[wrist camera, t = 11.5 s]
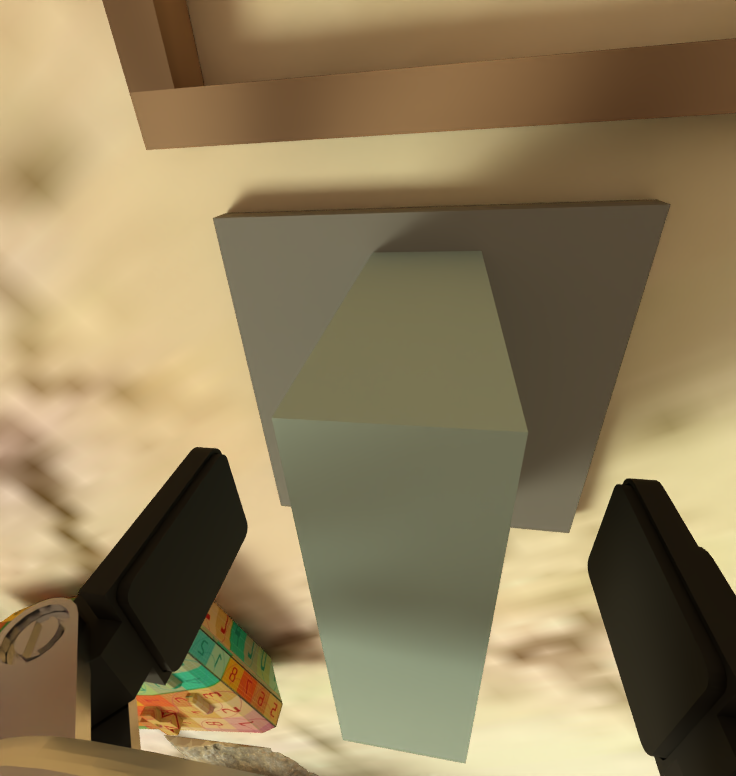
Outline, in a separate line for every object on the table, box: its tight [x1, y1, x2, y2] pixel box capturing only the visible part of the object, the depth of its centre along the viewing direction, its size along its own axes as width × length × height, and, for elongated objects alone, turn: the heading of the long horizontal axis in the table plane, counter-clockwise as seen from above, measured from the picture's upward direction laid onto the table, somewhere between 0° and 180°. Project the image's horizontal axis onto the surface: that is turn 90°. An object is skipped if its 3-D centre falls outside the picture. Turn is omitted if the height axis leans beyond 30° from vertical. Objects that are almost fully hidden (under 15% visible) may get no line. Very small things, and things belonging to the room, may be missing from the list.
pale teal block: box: [272, 251, 528, 763], centre depth 11 cm, size 3×10×8 cm, turn 3°
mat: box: [213, 200, 670, 533], centre depth 14 cm, size 12×12×1 cm
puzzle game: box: [0, 597, 282, 735], centre depth 28 cm, size 12×5×20 cm
